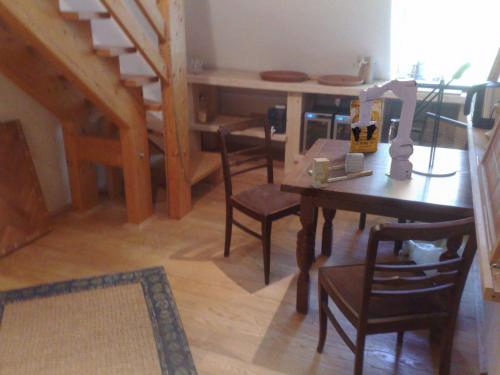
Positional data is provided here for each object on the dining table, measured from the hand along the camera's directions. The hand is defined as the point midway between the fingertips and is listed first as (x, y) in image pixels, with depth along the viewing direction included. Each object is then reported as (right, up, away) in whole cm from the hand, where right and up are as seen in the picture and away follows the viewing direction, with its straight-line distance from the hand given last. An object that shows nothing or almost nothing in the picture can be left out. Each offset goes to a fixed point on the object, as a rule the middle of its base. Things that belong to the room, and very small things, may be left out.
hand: (362, 140), depth 223 cm
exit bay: (-21, -18, -19) cm, 34 cm away
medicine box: (-8, -17, -13) cm, 23 cm away
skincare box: (-27, -23, -31) cm, 47 cm away
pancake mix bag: (+4, -4, +17) cm, 18 cm away
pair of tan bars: (-9, -16, -14) cm, 23 cm away
